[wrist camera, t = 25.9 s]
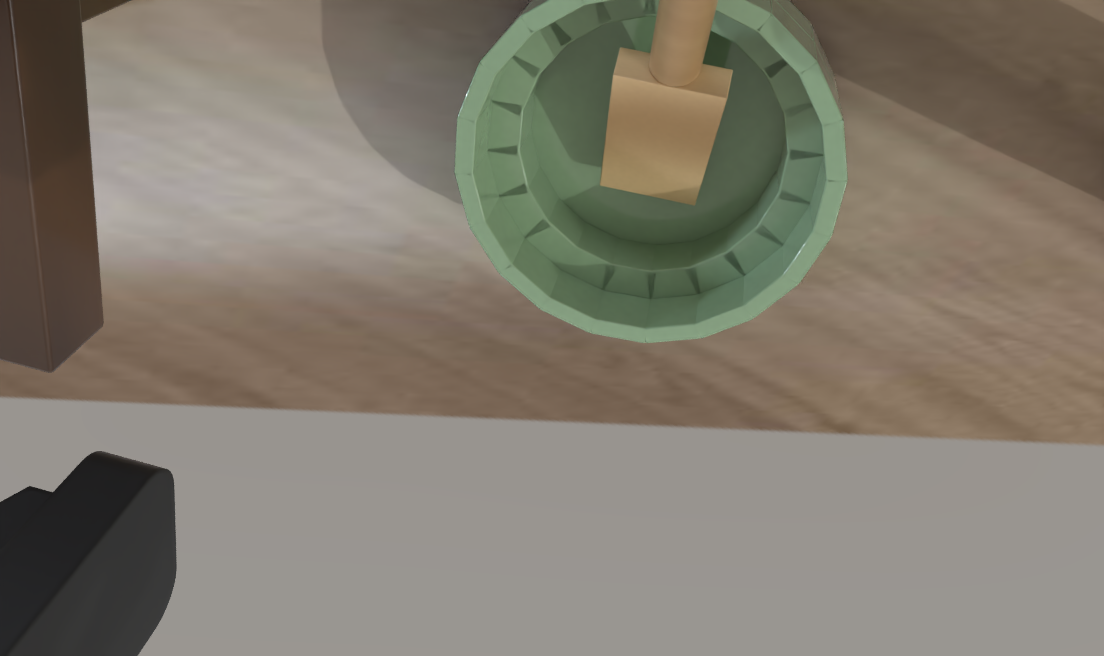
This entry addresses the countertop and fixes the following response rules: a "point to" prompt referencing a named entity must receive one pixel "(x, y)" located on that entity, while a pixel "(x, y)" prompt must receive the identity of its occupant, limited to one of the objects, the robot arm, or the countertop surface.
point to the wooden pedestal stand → (46, 184)
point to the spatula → (666, 107)
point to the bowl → (639, 220)
